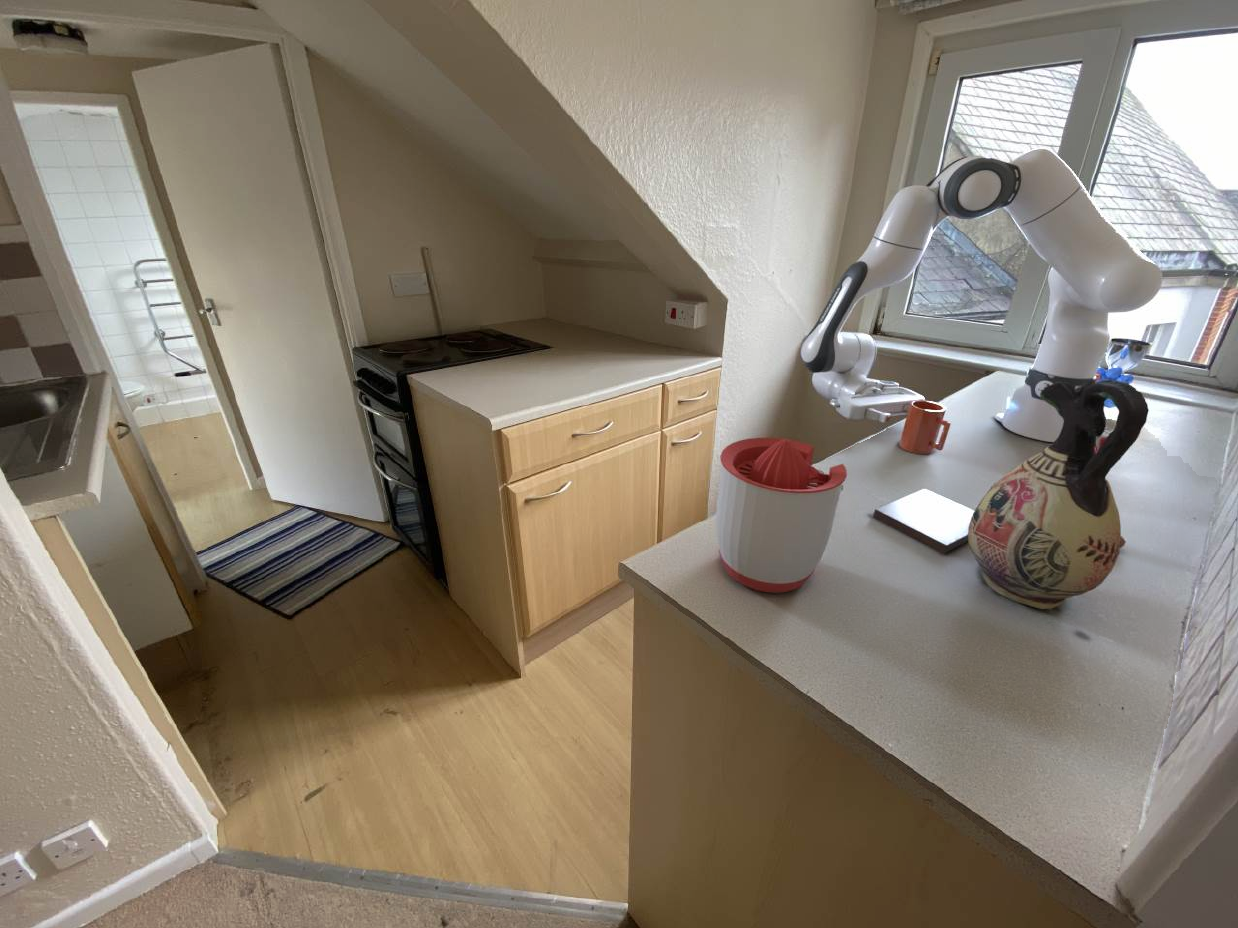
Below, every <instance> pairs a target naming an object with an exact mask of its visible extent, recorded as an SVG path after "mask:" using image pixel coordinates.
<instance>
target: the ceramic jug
mask: <svg viewBox="0 0 1238 928" xmlns="http://www.w3.org/2000/svg"><path fill="white" fill-rule="evenodd" d="M1040 397H1041V398H1042V399H1043V400H1044V401H1046V402H1047V403H1048V404H1050V405H1051V406H1053V407H1054V408H1055V409H1056V410H1057V412H1058V414H1059V415H1060V416H1061V417H1062V418H1063V420H1064V423H1063V427H1062V430H1061V432H1060V435H1059V436H1058V438H1057V439H1056V440H1055V441H1054V442H1052V443H1051V444H1049V445H1048V446H1047V447H1045V448H1044V449H1043V450H1041V451H1040V452H1038V453H1037V454H1036V455H1033V456H1031V457H1030V458H1028V459H1026V460H1024V461H1023V462H1022V463H1020V464H1019V465H1017V466H1015V467H1014V468H1013V469H1012V470H1011V471H1010V472H1008V473H1007V474H1005V475H1004V476H1003V477H1002V478H1000V479H999V480H998V481H997V482H995V483H994V484H993V485H992V486H991V487H990V489H989V490H988V491H987V492H986V493H985V495H984V496H983V497H982V498H981V500H980V502H979V503H978V505H977V506H976V508H975V510H974V513H973V515H972V517H971V520H970V524H969V529H968V541H967V542H968V547H969V549H970V552H971V554H972V556H973V557H974V559H975V561H976V562H977V564H978V566H979V569H980V570H981V573H982V578H983V580H984V582H985V583H986V585H987V586H988V587H990V588H991V589H992V590H993V591H995V592H996V593H998V594H999V595H1001V596H1002V597H1005V598H1007V599H1009V600H1012V601H1013V602H1016V603H1018V604H1019V603H1020V604H1023V605H1026V606H1029V607H1032V608H1036V609H1039V610H1051V609H1053V608H1056V607H1060V606H1063V605H1064V604H1065V602H1066V599H1069V598H1072V597H1076V596H1077V597H1078V596H1081V595H1084V594H1087V593H1088V592H1091V591H1092V590H1095V589H1097V587H1099V586H1100V585H1101V584H1102V583H1103V582H1105V580H1106V579H1107V577H1108V576H1109V575H1110V574H1111V572H1112V571H1113V569H1114V567H1115V565H1116V563H1117V560H1118V557H1119V555H1120V549H1121V548H1120V544H1121V542H1120V538H1121V536H1122V534H1121V533H1122V532H1121V531H1122V528H1121V527H1122V526H1121V525H1122V524H1121V517H1120V516H1121V515H1120V512H1119V510H1118V506H1117V504H1116V499H1115V497H1114V494H1113V491H1112V488H1111V484H1110V482H1109V481H1108V480H1107V479H1106V477H1107V475H1108V474H1109V472H1110V471H1111V469H1112V468H1113V467H1114V466H1115V465H1116V464H1117V463H1118V462H1119V461H1121V459H1122V458H1123V456H1124V455H1125V454H1126V453H1127V451H1129V449H1130V448H1131V447H1132V446H1133V445H1134V444H1135V442H1136V441H1137V439H1138V438H1139V436H1140V434H1141V432H1142V429H1143V427H1144V426H1145V424H1146V423H1147V420H1148V414H1149V406H1148V403H1147V400H1146V398H1145V397H1144V395H1143V393H1142V392H1141V391H1138V390H1137V389H1136V387H1134V386H1132V385H1131V384H1128V383H1125V382H1120V381H1113V380H1105V381H1100V382H1096V383H1095V381H1094V380H1087V381H1086V382H1085V384H1084V385H1082V386H1081V387H1079V388H1077V389H1075V390H1074V389H1073V388H1072V387H1071V386H1070V385H1069V384H1068V383H1067V382H1063V381H1059V382H1056V383H1054V384H1052V385H1050V386H1048V387H1046V388H1045V389H1044V390H1043V391H1042V392H1041V393H1040ZM1107 398H1109V399H1111V400H1112V401H1113V403H1114V404H1115V406H1116V409H1117V410H1118V414H1117V417H1116V421H1115V427H1114V428H1113V430H1111V431H1110V432H1111V433H1110V434H1109V435H1108V437H1107V438H1106V440H1105V441H1104V442H1103V443H1102V444H1101V447H1100V449H1099V450H1098V451H1097V453H1096V454H1095V453H1094V448H1095V443H1096V437H1100V436H1101V435H1102V434H1103V432H1104V430H1106V426H1107V420H1106V419H1107V418H1106V413H1105V410H1104V409H1105V407H1104V402H1105V400H1106V399H1107Z"/></svg>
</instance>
